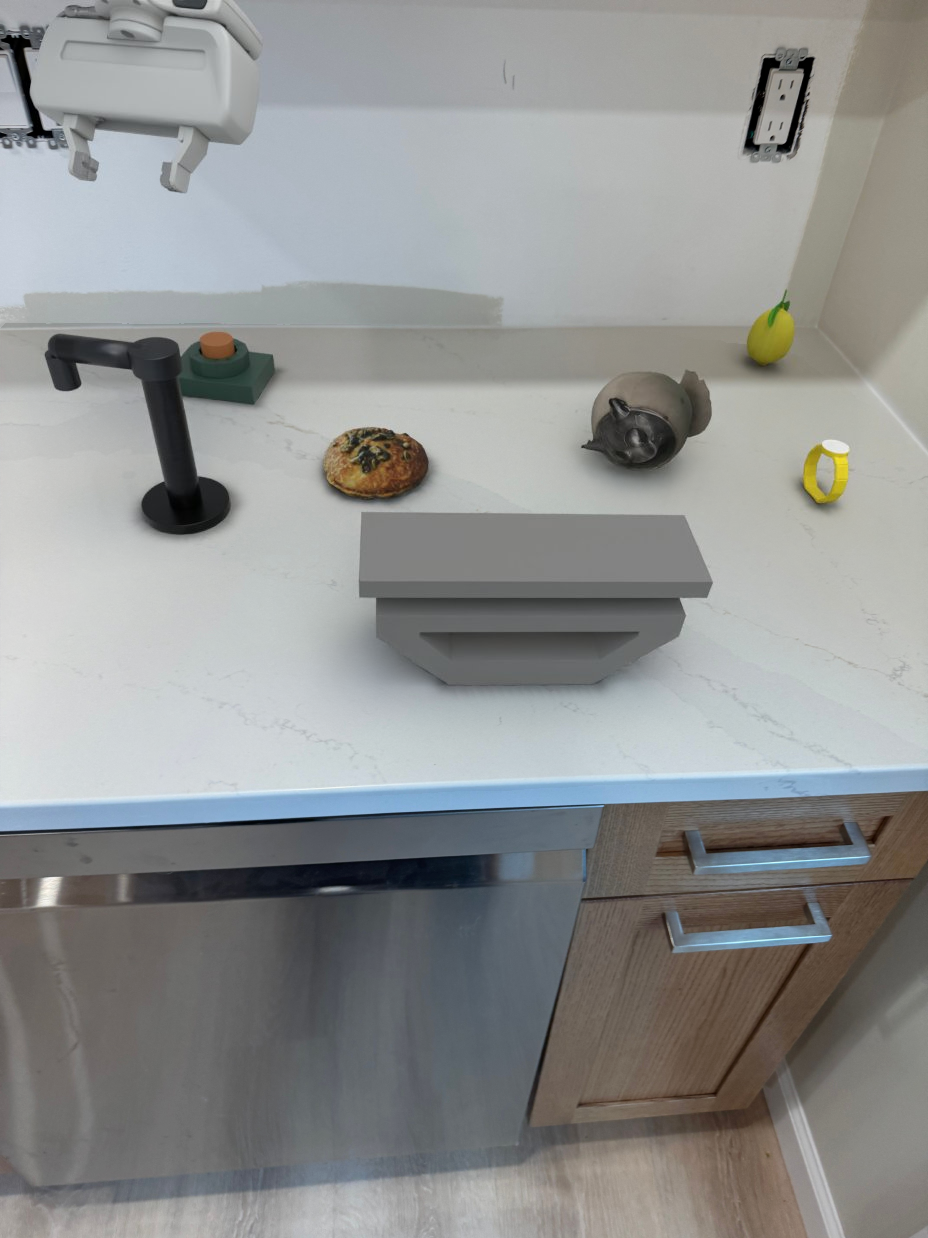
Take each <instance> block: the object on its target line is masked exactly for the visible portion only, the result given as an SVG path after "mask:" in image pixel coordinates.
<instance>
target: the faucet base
mask: <svg viewBox="0 0 928 1238" xmlns="http://www.w3.org/2000/svg"><path fill="white" fill-rule="evenodd" d="M140 382H141V387H142V391H143V395H144V400H145V404H146V407H147V413H148V417H149V421H150V425H151V431H152V434H153V438H154V443H155V447H156V451H157V456H158V460H159V464H160V469H161V473H162V477H163V481H160V482H158V483H157V484H155V485H154V486H152V487H151V488H150V489H149V490H147V491H146V493H144V495H143V496H142V499H141V505H140V507H141V511H142V515H143V518H144V520H145V522H146V523H147V524H148V525H149V526H150V527H152V528H153V529H154V530H157V531H160V532H163V533H165V534H170V535H171V534H172V535H189V534H196V533H200V532H204V531H206V530H209V529H211V528H213V527H216V526H217V525H218V524H220V523H221V522H223V521H224V520H225V518H226V517H227V516H228V514H229V513H230V511H231V499H230V498H231V497H230V494H229V491H228V489H227V488H226V487H225V485H223V484H222V483H221V482H219V481H218V480H216V479H213V478H210V477H207V476H200V475H198V469H197V465H196V460H195V455H194V450H193V449H194V448H193V444H192V440H191V434H190V429H189V424H188V419H187V418H188V417H187V414H186V408H185V404H184V398H183V395H182V393H181V388H180V383H179V377H178V376H177V377H175V378H172V379H169V380H165V381H158V382H151V381H144V380H141V379H140Z"/></svg>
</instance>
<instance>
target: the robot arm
mask: <svg viewBox="0 0 928 1238" xmlns="http://www.w3.org/2000/svg"><path fill="white" fill-rule="evenodd" d="M263 42H264V39H263V37H262V35H261V34H260V32H259V31H258V29H257V28H256V26H255V25H254V24H253V22H252V21H251V20H250V18H249V17H248V16H247V15H246V13H245V12H244V11H243V10H242V9H241V7H240V6H239V5H238V4H237V3H236V2H235V1H234V0H94V5H93V6H91V5H90V6H81V5H78V4H70V5H66V6H65V7H64V10H63V11H60V12H59V13H58V14H57V15H56V16H54V17H52V18H51V20H50V23H49V25H48V27H47V28H46V30H45V32H44V35H43V37H42V40H41V43H40V46H39V49H38V52H37V57H36V60H35V65H34V68H33V74H32V77H31V82H30V88H29V96H30V99H31V101H32V103H33V106H34V108H35V109H36V110H37V111H39V112H40V113H41V114H43V115H44V116H45V117H47V118H48V119H50V120H52V121H53V122H55V123H56V124H58V125H59V126H61V128H62V131H63V134H64V137H65V141H66V144H67V147H68V150H69V151H70V152H69V158H68V159H69V160H68V165H67V169H68V172H69V174H70V175H71V176H73V177H74V178H76V179H77V180H79V181H85V182H95V181H96V180H97V179H98V174H97V172H98V171H99V165H100V162H99V161H98V160H96V159H95V158H93V157H92V155H91V150H90V145H89V142H93V141H94V139H95V133H96V132H95V131H106V132H114V133H123V134H124V133H125V134H132V135H141V136H151V137H159V138H169V139H177V140H178V141H179V142H180V143H181V144H180V146H179V148H178V149H177V151H176V153H175V154H174V156H173V157H172V159H171V161H170V162H169V161H162V164H161V174H160V176H159V183H160V185H161V186H162V187H163V188H164V189H166V190H167V191H169V192H173V193H179V194H187V193H188V190H189V186H190V185H189V184H190V179H191V174H193V173H194V172H195V170H196V169H197V167H198V166H199V165H200V164H201V163H202V161H203V160H204V159H205V158H206V156H207V154H208V149H209V143H216V144H217V143H218V144H225V145H234V146H241V145H242V144H244V142H245V141H246V140H247V139H248V138H249V137H250V136H251V135H252V133H253V129H254V126H255V121H256V114H257V108H258V102H259V91H260V71H259V67H258V65H257V63H256V62H255V61H257V60H259V58H260V56H261V53H262V50H263V44H264V43H263ZM88 141H89V142H88Z"/></svg>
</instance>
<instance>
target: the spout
mask: <svg viewBox="0 0 928 1238" xmlns="http://www.w3.org/2000/svg"><path fill="white" fill-rule="evenodd" d="M43 355H44V359H45V362H46V365H47V368H48V372H49V375H50V378H51V380H52V384H53V387H54V389H55V390H57V391H58V392H71V391H75V390H78V389H80V388H81V386H82V379H81V376H80V372H79V369H78V366H77V364H81V365H88V366H95V367H104V368H105V367H106V368H113V369H120V370H127V371H128V370H129V371H132V374H133V375H134V377H135V378H137V379H139V380H140V381H141V380H144V381H151V382H158V381H165V380H169V379H172V378H175V377H177V376H178V375H179V374H180V373H181V372H182V370H183V366H182V360H181V356H182V355H181V349H180V345H179V344H178V342H177V341H175V340H173V339H171V338H168V337H162V336H153V337H145V338H141V339H138V340H135V341H134V342H132V341H124V340H117V339H108V338H101V337H92V336H85V335H84V336H83V335H77V334H76V335H75V334H68V333H67V334H66V333H56V334H54V335H52V336H51V337H50V338H49V339H48V341H47V350H45V352H44V354H43Z"/></svg>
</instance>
